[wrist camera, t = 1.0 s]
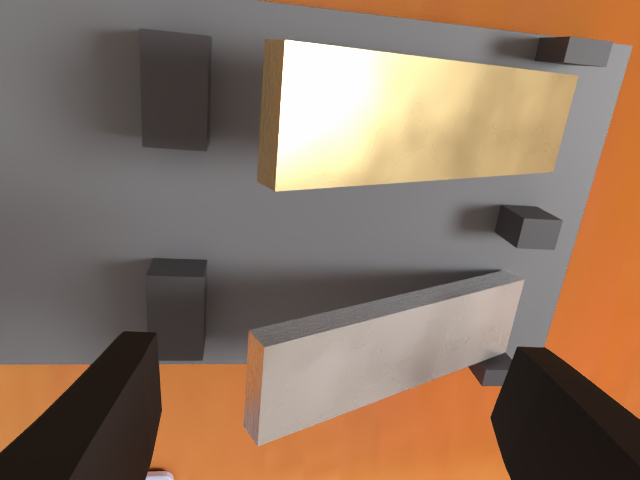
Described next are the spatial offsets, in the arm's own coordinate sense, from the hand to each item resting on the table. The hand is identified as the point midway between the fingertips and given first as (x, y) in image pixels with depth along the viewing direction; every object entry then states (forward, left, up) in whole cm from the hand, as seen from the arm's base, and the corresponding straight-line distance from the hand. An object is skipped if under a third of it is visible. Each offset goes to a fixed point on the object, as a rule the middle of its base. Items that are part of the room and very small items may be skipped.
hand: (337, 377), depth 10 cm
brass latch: (+5, -4, -7) cm, 9 cm away
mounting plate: (+1, 0, -12) cm, 12 cm away
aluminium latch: (-3, -4, -7) cm, 9 cm away
